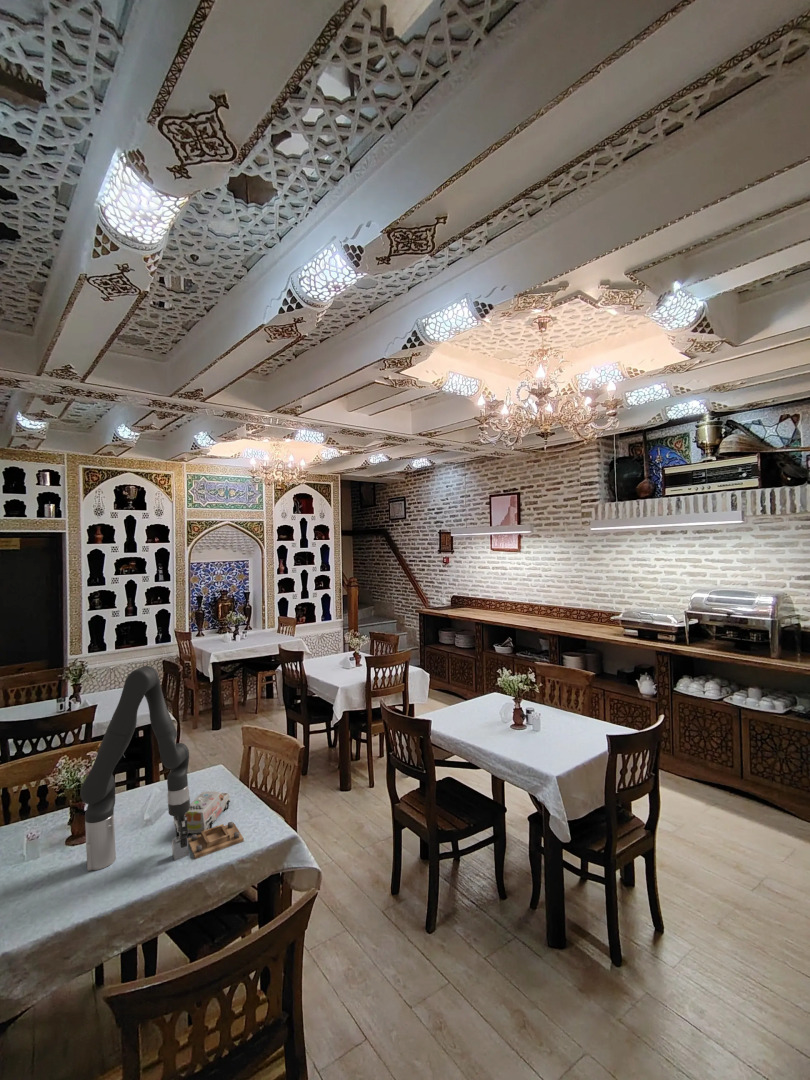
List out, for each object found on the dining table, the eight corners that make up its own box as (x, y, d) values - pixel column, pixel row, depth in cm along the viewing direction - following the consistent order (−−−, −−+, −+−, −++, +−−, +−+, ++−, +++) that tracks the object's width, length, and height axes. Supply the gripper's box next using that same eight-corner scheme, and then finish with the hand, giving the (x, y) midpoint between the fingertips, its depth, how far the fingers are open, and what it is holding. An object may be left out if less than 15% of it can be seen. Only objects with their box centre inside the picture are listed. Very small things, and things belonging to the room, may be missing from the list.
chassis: (195, 859, 190) (194, 850, 190) (187, 841, 202) (187, 833, 202) (243, 841, 200) (243, 833, 200) (233, 825, 212) (233, 817, 212)
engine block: (174, 860, 190) (173, 842, 190) (172, 855, 193) (171, 837, 193) (188, 855, 193) (188, 837, 193) (186, 850, 196) (185, 832, 196)
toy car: (231, 805, 229) (230, 782, 229) (205, 837, 204) (204, 812, 204) (208, 805, 230) (207, 783, 230) (179, 837, 205) (178, 812, 205)
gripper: (164, 795, 197) (167, 836, 197) (171, 810, 185) (174, 854, 185) (185, 788, 201) (188, 829, 201) (193, 802, 189) (196, 846, 189)
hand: (181, 841), depth 193 cm, fingers open, 8 cm apart
